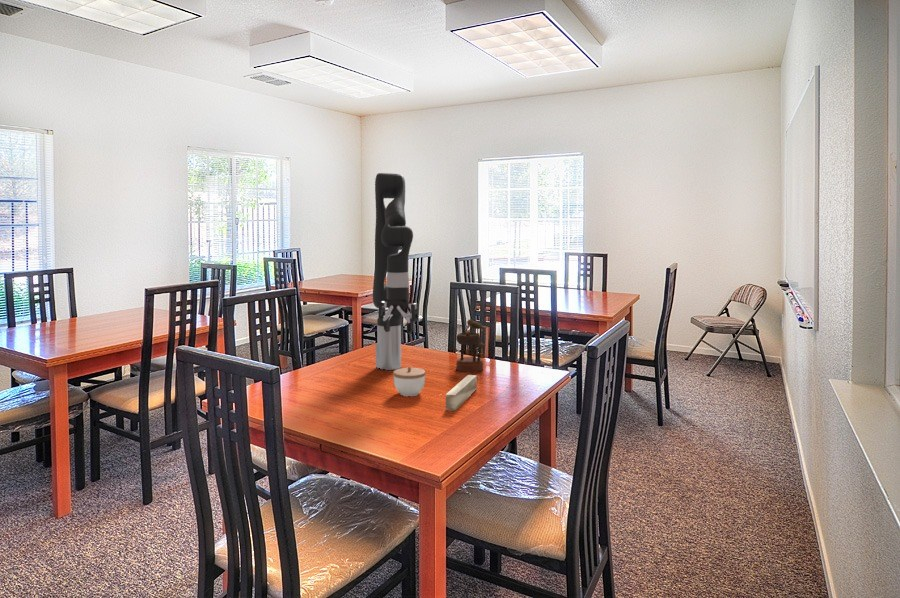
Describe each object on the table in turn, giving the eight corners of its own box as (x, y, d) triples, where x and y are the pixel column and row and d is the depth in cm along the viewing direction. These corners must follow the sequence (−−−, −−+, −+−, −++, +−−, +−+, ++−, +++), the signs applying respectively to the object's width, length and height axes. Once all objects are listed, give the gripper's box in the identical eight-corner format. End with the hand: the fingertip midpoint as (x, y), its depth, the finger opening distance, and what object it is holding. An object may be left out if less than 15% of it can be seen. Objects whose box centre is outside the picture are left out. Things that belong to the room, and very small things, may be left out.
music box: (487, 365, 232) (487, 317, 228) (487, 375, 221) (487, 324, 217) (449, 364, 233) (449, 316, 229) (447, 374, 222) (447, 323, 218)
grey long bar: (445, 410, 177) (445, 394, 177) (468, 388, 200) (468, 374, 199) (455, 411, 176) (455, 395, 176) (476, 389, 199) (476, 375, 198)
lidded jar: (393, 389, 199) (393, 363, 198) (424, 389, 200) (424, 362, 198) (393, 399, 188) (393, 371, 187) (426, 398, 189) (426, 370, 188)
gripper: (373, 285, 195) (374, 332, 197) (410, 287, 189) (411, 336, 191) (385, 283, 201) (386, 329, 203) (421, 285, 195) (421, 332, 197)
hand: (398, 332), depth 197 cm, fingers open, 8 cm apart
